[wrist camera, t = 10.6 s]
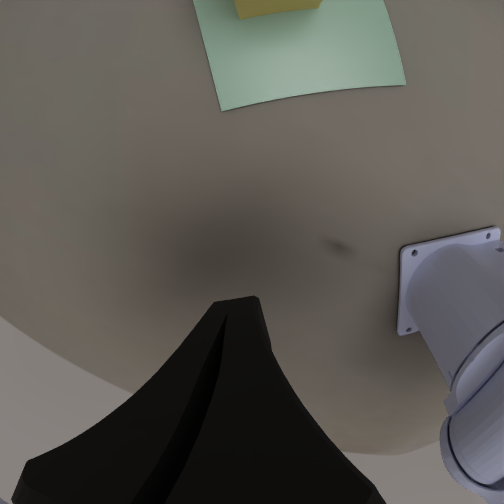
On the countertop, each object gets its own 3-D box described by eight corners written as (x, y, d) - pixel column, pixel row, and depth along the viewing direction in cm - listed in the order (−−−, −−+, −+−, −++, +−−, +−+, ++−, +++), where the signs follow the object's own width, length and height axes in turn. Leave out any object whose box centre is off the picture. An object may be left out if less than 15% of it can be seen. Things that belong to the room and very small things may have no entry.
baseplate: (355, -59, 10) (357, -61, 9) (403, 85, 14) (406, 84, 14) (184, -37, 11) (182, -40, 11) (222, 111, 16) (221, 111, 15)
